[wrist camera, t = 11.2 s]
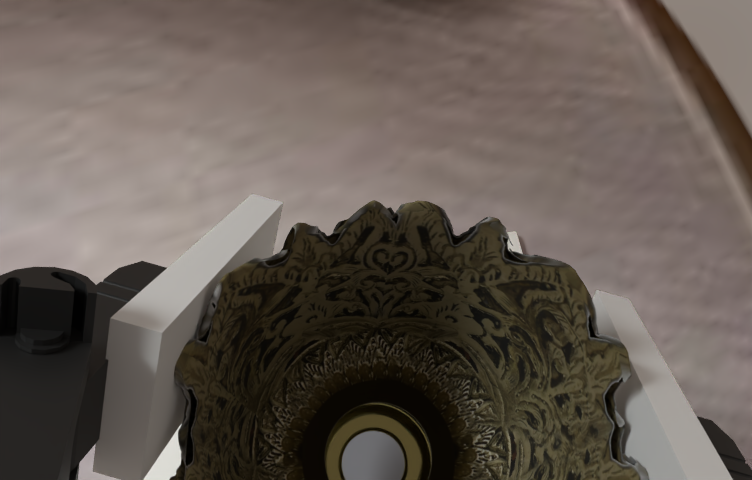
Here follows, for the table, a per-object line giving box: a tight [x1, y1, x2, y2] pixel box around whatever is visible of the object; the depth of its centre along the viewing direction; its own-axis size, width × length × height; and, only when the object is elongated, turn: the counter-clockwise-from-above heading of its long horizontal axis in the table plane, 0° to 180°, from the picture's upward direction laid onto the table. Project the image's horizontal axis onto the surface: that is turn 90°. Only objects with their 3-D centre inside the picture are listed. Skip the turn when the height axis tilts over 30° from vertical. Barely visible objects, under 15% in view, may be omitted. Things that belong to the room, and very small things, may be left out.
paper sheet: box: [143, 231, 523, 480], centre depth 19 cm, size 13×13×1 cm
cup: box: [169, 200, 649, 480], centre depth 14 cm, size 8×7×8 cm
